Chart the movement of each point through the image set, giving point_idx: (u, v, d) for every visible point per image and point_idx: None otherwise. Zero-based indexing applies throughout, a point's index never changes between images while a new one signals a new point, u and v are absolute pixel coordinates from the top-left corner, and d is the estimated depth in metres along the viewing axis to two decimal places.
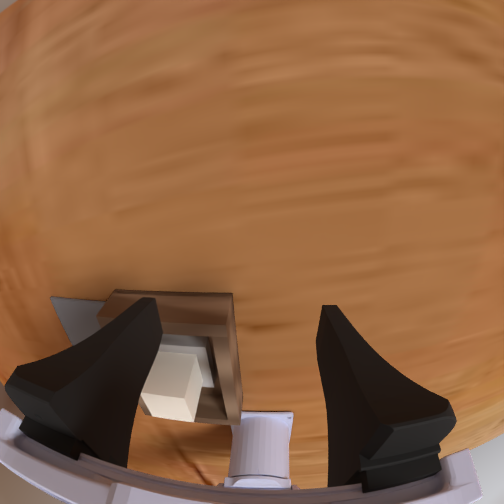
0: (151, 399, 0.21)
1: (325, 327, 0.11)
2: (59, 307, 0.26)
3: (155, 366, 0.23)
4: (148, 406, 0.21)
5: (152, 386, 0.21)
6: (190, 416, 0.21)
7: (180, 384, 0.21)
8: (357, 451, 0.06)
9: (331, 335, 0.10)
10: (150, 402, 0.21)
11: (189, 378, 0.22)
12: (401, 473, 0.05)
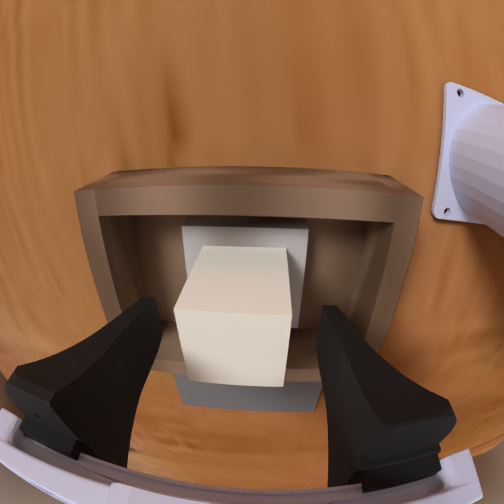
0: (207, 370, 0.11)
1: (325, 327, 0.11)
2: (193, 399, 0.23)
3: None
4: (239, 382, 0.11)
5: None
6: (260, 316, 0.09)
7: None
8: (357, 451, 0.06)
9: (331, 335, 0.10)
10: (220, 375, 0.11)
11: (189, 276, 0.11)
12: (401, 473, 0.05)
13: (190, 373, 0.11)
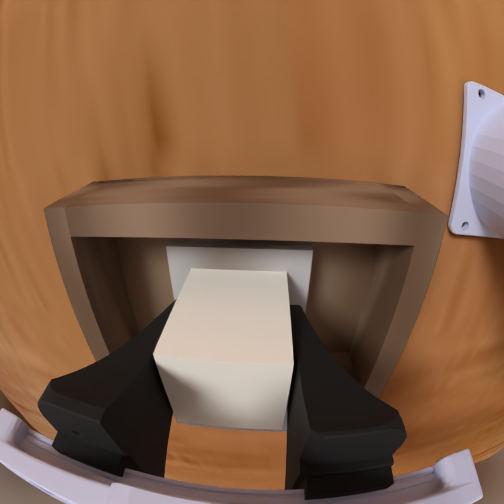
0: (196, 413, 0.09)
1: None
2: None
3: None
4: (233, 425, 0.09)
5: None
6: (255, 365, 0.08)
7: None
8: (299, 456, 0.06)
9: None
10: (211, 418, 0.09)
11: (173, 309, 0.10)
12: (346, 483, 0.05)
13: (178, 415, 0.09)
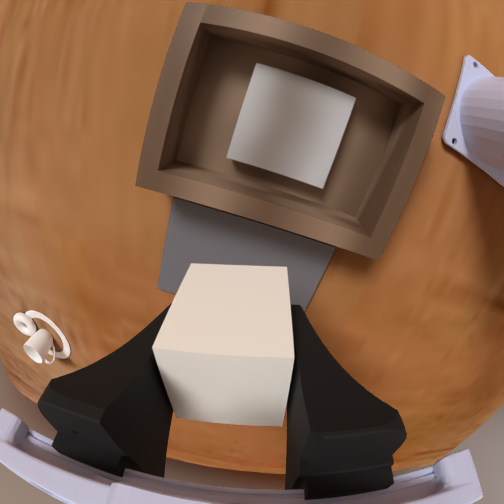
0: (195, 409, 0.09)
1: None
2: (172, 283, 0.23)
3: None
4: (233, 422, 0.09)
5: None
6: (255, 358, 0.07)
7: None
8: (299, 456, 0.06)
9: None
10: (211, 414, 0.09)
11: (172, 303, 0.10)
12: (346, 483, 0.05)
13: (177, 411, 0.09)
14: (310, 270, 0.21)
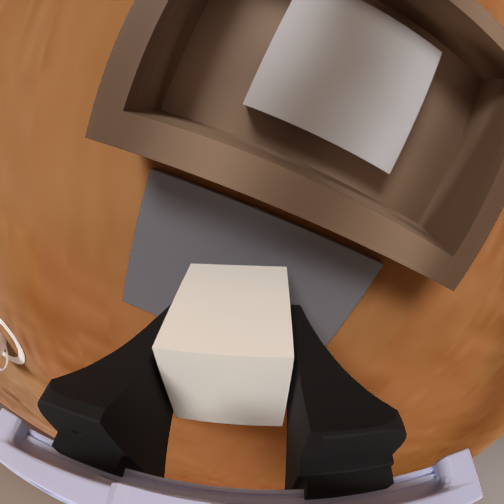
0: (195, 409, 0.09)
1: None
2: (142, 296, 0.15)
3: None
4: (233, 422, 0.09)
5: None
6: (255, 358, 0.07)
7: None
8: (299, 456, 0.06)
9: None
10: (211, 414, 0.09)
11: (172, 303, 0.10)
12: (346, 483, 0.05)
13: (177, 411, 0.09)
14: (343, 294, 0.14)
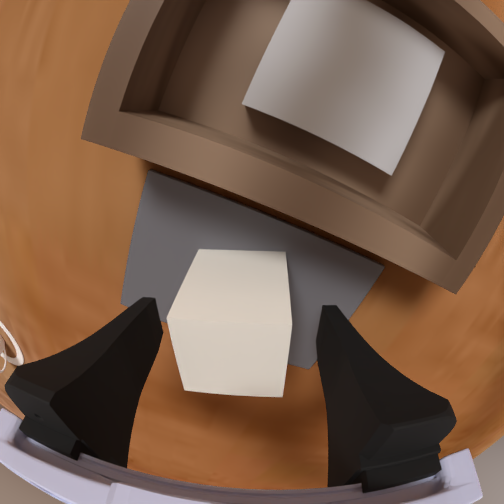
0: (203, 380, 0.10)
1: (325, 327, 0.11)
2: None
3: None
4: (237, 393, 0.10)
5: None
6: (258, 325, 0.09)
7: None
8: (357, 451, 0.06)
9: (331, 335, 0.10)
10: (217, 385, 0.10)
11: (183, 282, 0.11)
12: (401, 473, 0.05)
13: (185, 383, 0.10)
14: (344, 297, 0.14)
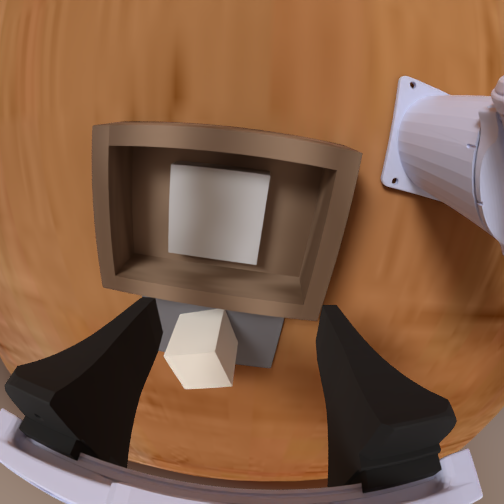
0: (190, 382, 0.20)
1: (325, 327, 0.11)
2: None
3: None
4: (209, 386, 0.20)
5: None
6: (201, 354, 0.19)
7: None
8: (357, 451, 0.06)
9: (331, 335, 0.10)
10: (198, 383, 0.20)
11: (171, 336, 0.21)
12: (401, 473, 0.05)
13: (184, 385, 0.21)
14: (269, 324, 0.24)
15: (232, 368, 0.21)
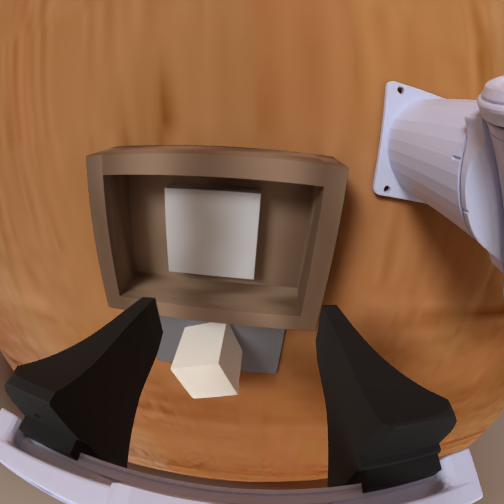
0: (197, 391, 0.21)
1: (325, 327, 0.11)
2: (167, 355, 0.26)
3: None
4: (215, 395, 0.21)
5: None
6: (205, 366, 0.20)
7: None
8: (357, 451, 0.06)
9: (331, 335, 0.10)
10: (205, 393, 0.21)
11: (177, 349, 0.22)
12: (401, 473, 0.05)
13: (191, 394, 0.21)
14: (272, 332, 0.24)
15: (237, 376, 0.22)
